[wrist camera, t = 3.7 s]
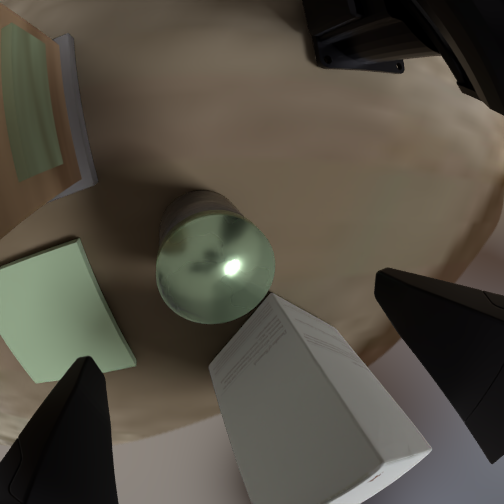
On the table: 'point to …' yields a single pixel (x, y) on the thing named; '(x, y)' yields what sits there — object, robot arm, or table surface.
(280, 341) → the supplement box
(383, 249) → the table surface
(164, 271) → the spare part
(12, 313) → the sage mat
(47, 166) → the tan box
